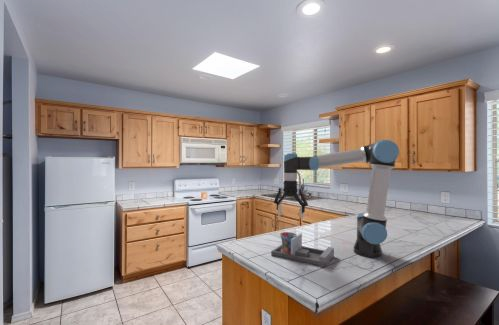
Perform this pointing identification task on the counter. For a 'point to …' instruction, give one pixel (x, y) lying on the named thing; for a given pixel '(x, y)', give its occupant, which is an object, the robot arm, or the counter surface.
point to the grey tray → (314, 257)
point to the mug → (286, 241)
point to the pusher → (298, 247)
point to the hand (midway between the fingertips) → (290, 216)
